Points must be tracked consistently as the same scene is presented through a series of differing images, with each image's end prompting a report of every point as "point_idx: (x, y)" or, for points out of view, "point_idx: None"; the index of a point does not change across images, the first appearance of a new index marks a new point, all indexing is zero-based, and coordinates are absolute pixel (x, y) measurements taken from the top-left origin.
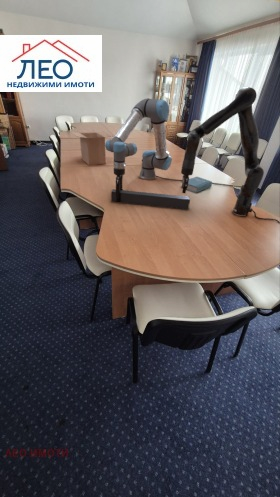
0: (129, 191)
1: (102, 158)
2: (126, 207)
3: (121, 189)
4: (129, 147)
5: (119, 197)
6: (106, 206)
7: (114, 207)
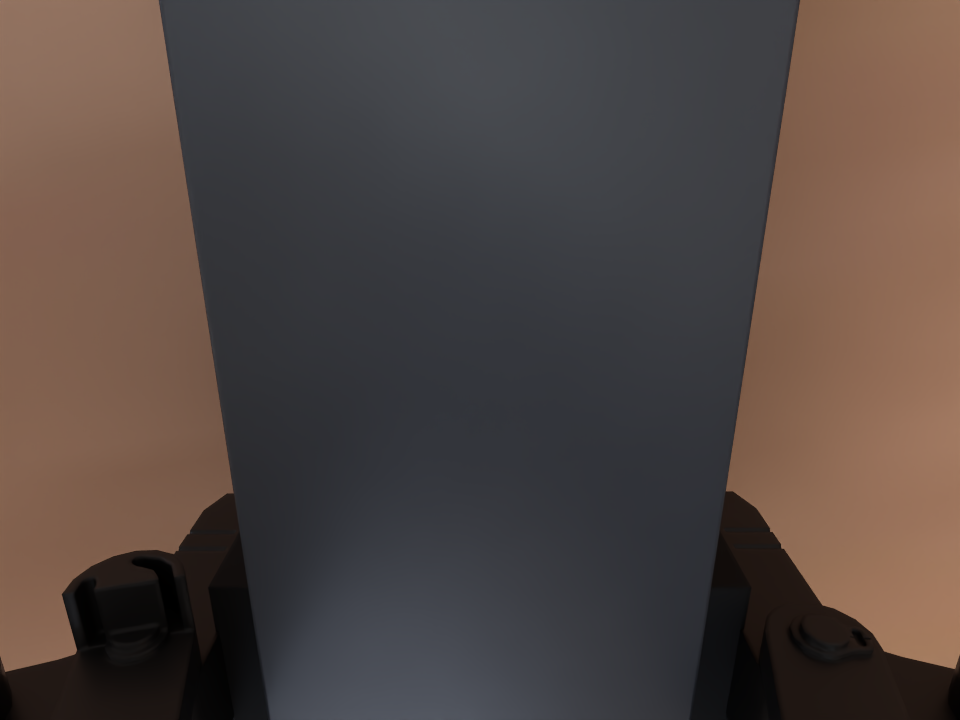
0: (325, 50)
1: None
2: (944, 101)
3: (194, 656)
4: None
5: None
6: None
7: (940, 474)
